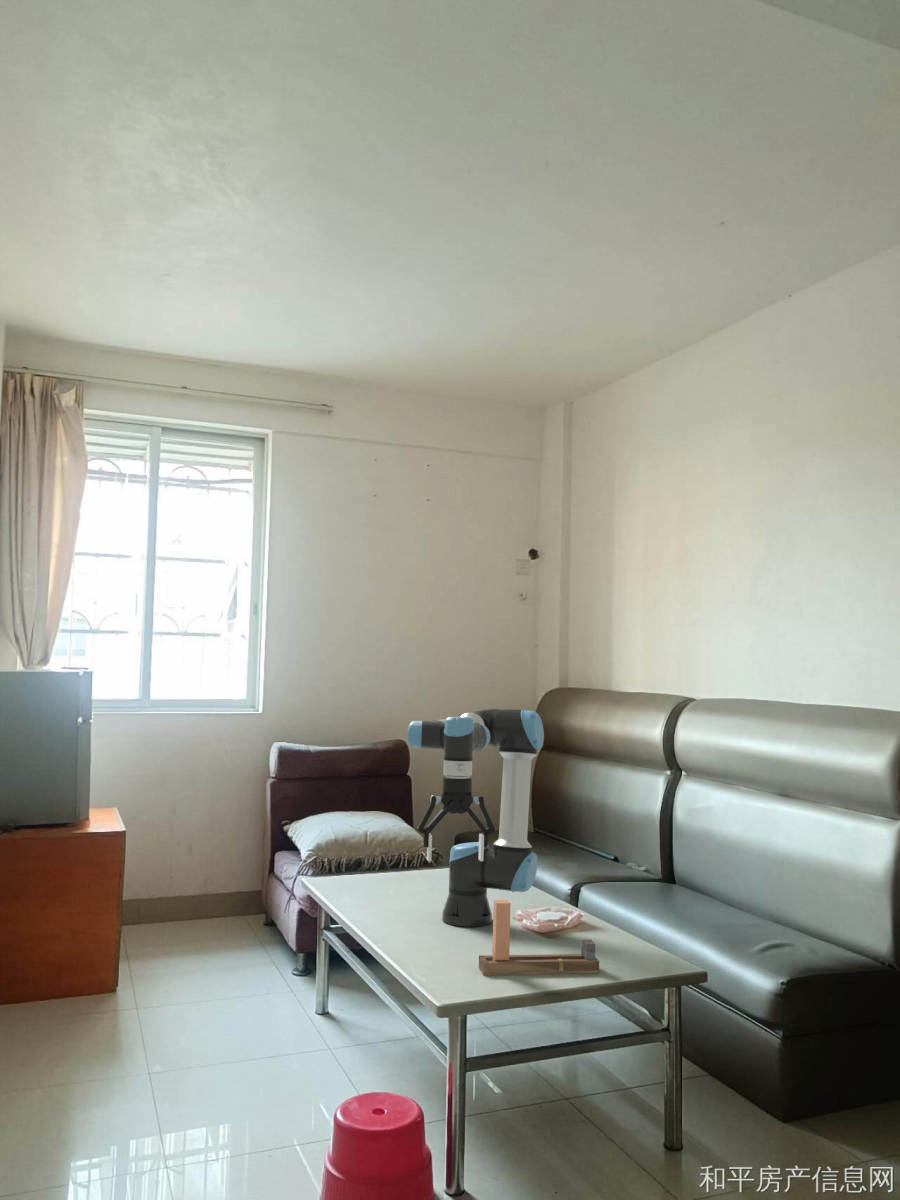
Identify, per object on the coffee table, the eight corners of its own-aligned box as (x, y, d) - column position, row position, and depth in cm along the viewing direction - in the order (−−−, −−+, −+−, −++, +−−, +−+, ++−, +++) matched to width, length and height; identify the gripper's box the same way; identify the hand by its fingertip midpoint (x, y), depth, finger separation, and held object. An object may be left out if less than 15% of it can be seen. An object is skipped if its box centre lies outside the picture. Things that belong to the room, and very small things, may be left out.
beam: (478, 967, 236) (479, 939, 237) (591, 965, 241) (592, 938, 241) (483, 975, 230) (484, 946, 231) (599, 973, 235) (599, 944, 235)
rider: (491, 965, 236) (493, 899, 237) (506, 965, 236) (508, 899, 238) (494, 969, 232) (495, 903, 233) (509, 969, 233) (511, 903, 234)
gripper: (411, 777, 234) (408, 863, 232) (507, 779, 238) (505, 862, 237) (408, 774, 242) (405, 857, 240) (501, 775, 246) (499, 857, 244)
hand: (455, 860), depth 238 cm, fingers open, 13 cm apart
